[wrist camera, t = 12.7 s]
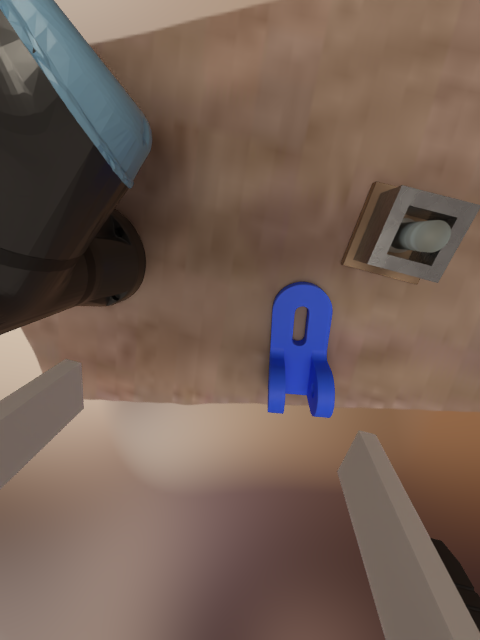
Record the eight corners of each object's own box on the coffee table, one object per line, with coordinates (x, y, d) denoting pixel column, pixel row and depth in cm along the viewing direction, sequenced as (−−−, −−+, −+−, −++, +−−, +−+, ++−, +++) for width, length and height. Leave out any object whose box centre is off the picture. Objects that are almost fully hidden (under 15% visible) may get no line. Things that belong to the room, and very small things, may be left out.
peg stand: (340, 263, 33) (361, 272, 25) (372, 183, 29) (408, 165, 22) (412, 282, 33) (455, 298, 25) (453, 204, 29) (518, 193, 21)
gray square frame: (353, 259, 31) (367, 264, 27) (380, 193, 29) (401, 185, 24) (412, 275, 31) (437, 282, 26) (446, 210, 28) (481, 205, 24)
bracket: (317, 388, 40) (330, 429, 32) (268, 384, 41) (267, 423, 33) (332, 282, 34) (352, 298, 26) (274, 280, 35) (275, 295, 27)
